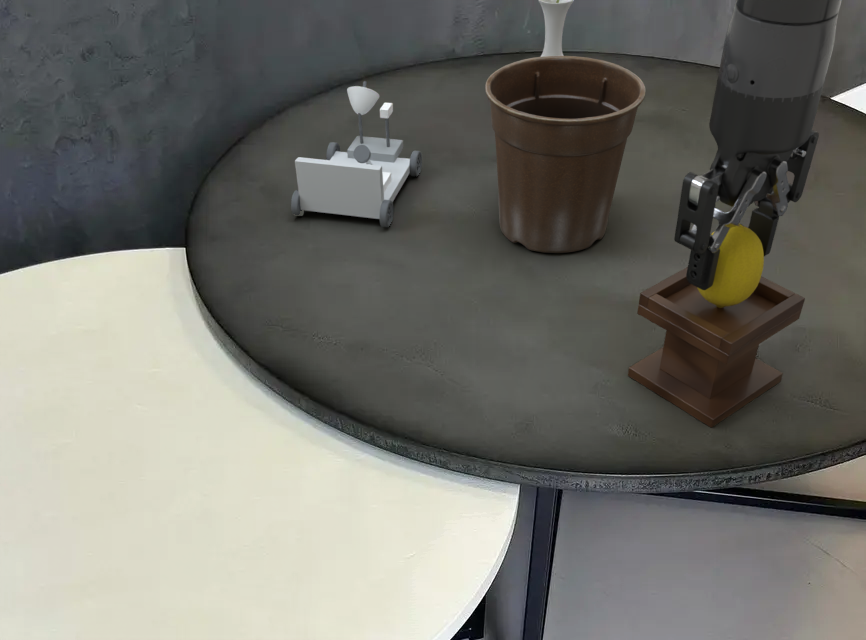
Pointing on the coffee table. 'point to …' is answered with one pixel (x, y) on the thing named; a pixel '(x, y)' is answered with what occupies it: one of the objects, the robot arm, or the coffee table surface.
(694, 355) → the stand
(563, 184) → the plant pot
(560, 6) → the flower in vase
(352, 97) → the grey toy rover
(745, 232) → the lemon
